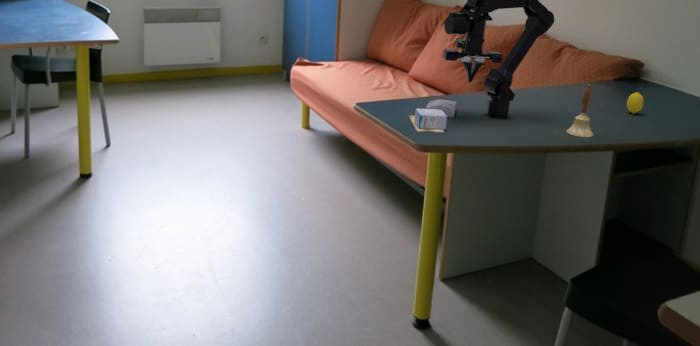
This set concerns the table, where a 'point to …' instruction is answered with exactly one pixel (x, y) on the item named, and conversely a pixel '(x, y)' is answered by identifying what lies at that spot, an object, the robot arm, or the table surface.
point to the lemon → (635, 102)
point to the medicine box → (430, 118)
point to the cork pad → (423, 128)
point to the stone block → (443, 106)
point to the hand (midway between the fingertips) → (469, 82)
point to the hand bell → (582, 118)
